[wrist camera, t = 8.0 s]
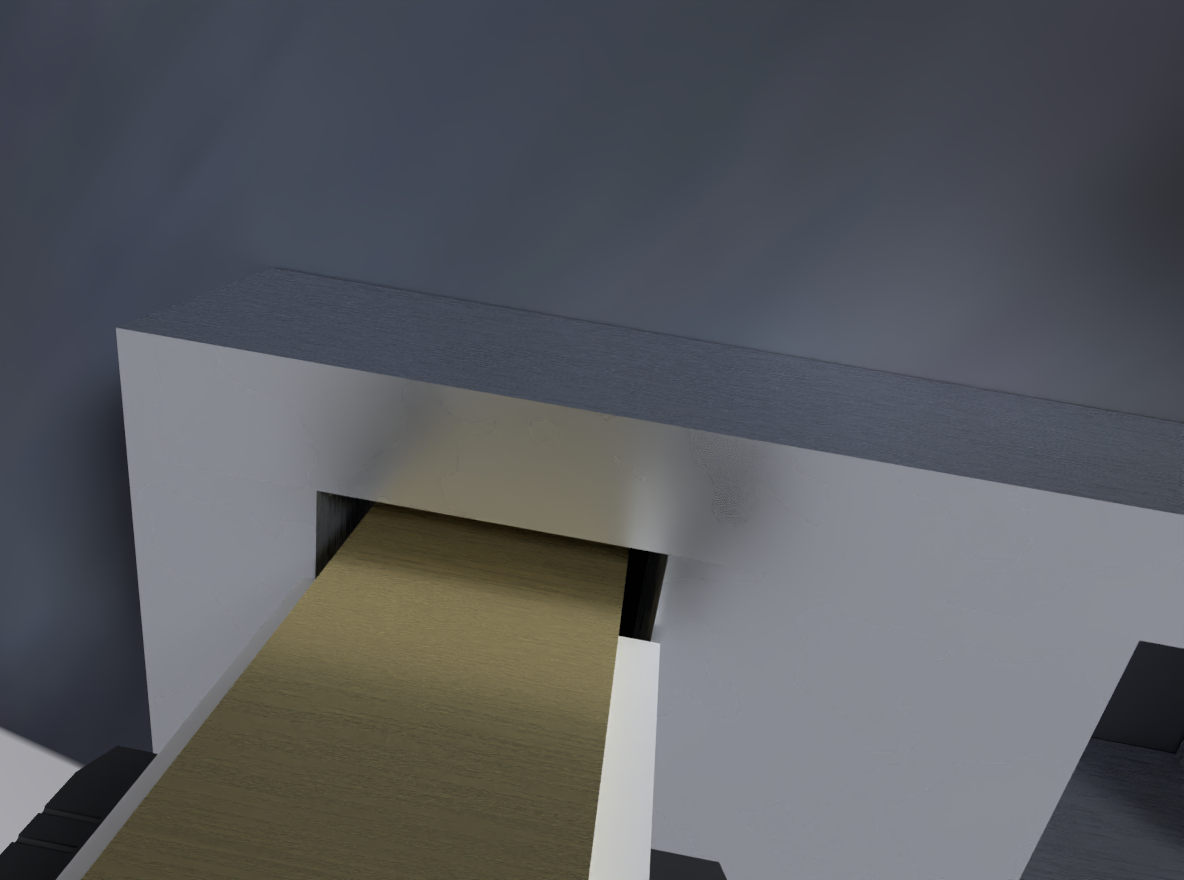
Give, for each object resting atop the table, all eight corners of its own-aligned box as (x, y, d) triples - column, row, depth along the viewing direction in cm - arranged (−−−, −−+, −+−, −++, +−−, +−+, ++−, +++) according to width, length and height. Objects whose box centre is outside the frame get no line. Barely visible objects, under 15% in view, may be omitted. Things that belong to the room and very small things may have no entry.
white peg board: (271, 267, 17) (115, 327, 12) (1563, 488, 16) (1925, 645, 11) (275, 655, 21) (158, 811, 16) (1310, 853, 20) (1503, 1080, 15)
